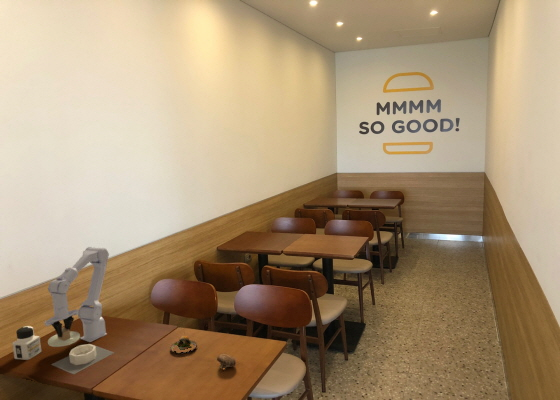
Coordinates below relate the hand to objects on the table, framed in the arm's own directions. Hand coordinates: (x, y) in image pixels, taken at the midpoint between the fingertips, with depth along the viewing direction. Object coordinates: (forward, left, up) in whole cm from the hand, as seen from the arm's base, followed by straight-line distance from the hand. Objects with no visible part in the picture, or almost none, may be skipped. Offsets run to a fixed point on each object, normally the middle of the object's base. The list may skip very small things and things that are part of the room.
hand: (64, 335), depth 193 cm
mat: (-1, +12, -9) cm, 15 cm away
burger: (-29, +45, -10) cm, 54 cm away
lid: (0, 0, -2) cm, 2 cm away
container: (+9, -14, -9) cm, 19 cm away
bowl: (-1, +12, -9) cm, 15 cm away
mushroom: (-26, +72, -9) cm, 77 cm away
